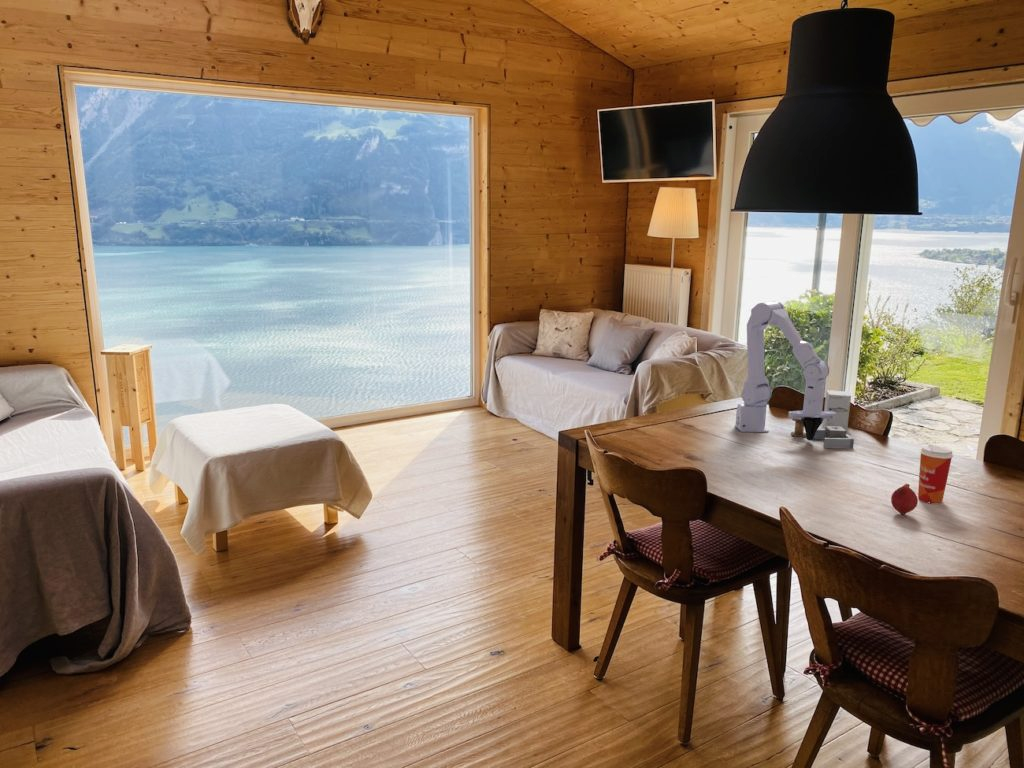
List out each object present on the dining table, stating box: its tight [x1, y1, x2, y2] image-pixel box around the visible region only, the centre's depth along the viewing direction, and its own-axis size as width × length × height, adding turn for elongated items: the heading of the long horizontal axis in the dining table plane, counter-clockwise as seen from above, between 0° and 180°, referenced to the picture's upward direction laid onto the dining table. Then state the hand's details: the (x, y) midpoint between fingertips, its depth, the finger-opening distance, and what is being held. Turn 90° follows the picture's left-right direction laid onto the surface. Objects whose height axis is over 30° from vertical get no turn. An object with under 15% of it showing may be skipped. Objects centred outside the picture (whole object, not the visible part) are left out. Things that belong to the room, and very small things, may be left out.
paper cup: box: [917, 444, 954, 504], centre depth 199 cm, size 8×8×14 cm
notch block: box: [813, 428, 855, 449], centre depth 249 cm, size 9×11×3 cm
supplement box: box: [822, 389, 852, 432], centre depth 265 cm, size 7×7×13 cm
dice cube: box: [824, 426, 847, 438], centre depth 249 cm, size 5×5×5 cm
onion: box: [890, 483, 919, 515], centre depth 190 cm, size 6×6×8 cm
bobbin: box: [790, 418, 806, 438], centre depth 256 cm, size 5×5×6 cm
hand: (809, 439), depth 249 cm, fingers closed
